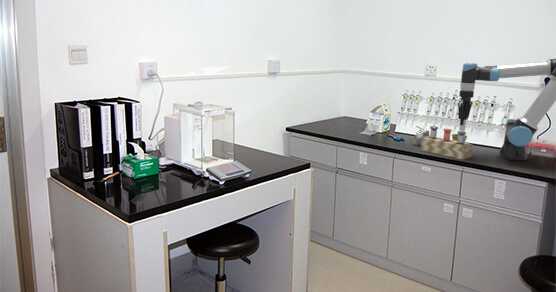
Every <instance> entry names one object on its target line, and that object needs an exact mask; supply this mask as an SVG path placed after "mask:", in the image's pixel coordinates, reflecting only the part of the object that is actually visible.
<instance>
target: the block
mask: <svg viewBox="0 0 556 292" xmlns="http://www.w3.org/2000/svg"><path fill="white" fill-rule="evenodd" d="M443 138H444V137H439V136H436V139H431V138H430V135H429V136H426V137H422V138H421V145H420V147H419V151H423V152H427V153H431V154H437V155H440V156H445V157H449V158H453V159H458V160H461V161H462V160H466V159H470V158H472V152H473V146H474V145H473V143H468V142H466V141H465V142H464V145H460V144H457V141H455V140H453V139H450V142H445V141H443Z"/></svg>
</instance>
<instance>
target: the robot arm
mask: <svg viewBox="0 0 556 292" xmlns="http://www.w3.org/2000/svg"><path fill="white" fill-rule="evenodd" d="M534 76H535V77H537V76H547V77H548V78H549V77H550V79H549V81H548V82H547V84H546V85H545V87H544V88H543V89H542V90H541V92H540V93H539V95H538V96H537V97H536V98H535V99H534V101H533V102H532V103H531V105H530V106H529V107H528V109H527V110H526V112H525V113H523V116H521V117H518V118H516V119H513V118H509V119H507V121H506V123H505V124H506V126H505V131H504V139H503V144H502V146H501V147H500V149H499V152H498V157H500V158H502V159H505V160H509V161H510V160H511V161H527V160H528V159H527V158H528V152H527V147H526V146H528V145H529V144H530V143H531V142H532V140H533V138H534V135H535V133H536V132H537V131H538V129H539V128H538V127H539V126H538V125H539V123H540V122H542V119H543V118H544V117H545V115H546V114H548V112H549V111H550V110H551V108H552V107H553V105H554V104H555V103H556V58H552V59H551V58H549V59H547V60H546V61H545V60H544V61H537V62H536V61H535V62H524V63H513V64H512V63H511V64H503V65H502V64H500V65H487V66H486V65H485V66H481V67H480V66H479V65H478V63H475V62H465V63H463V64H462V70H461V79H460V84H459V85H460V87H459V89H460V90H459V95H458V97H460V98H461V99H460V101H459V102H457V108H458V109H457V110H458V113H457V114H458V115H457V117H458V119H459V129H458V131H464V132H466V123H467V121H468V120H469V118H470V117H469V116H470V113H471V110H472V106H473V101H471V100H472V98H474V94H475V91H474V90H475V85H476V81H482V82H483V81H484V82H498V81H499V80H500V79H509V78H510V79H511V78H512V79H513V78H523V77H534Z"/></svg>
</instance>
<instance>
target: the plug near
mask: <svg viewBox="0 0 556 292" xmlns="http://www.w3.org/2000/svg"><path fill="white" fill-rule="evenodd" d="M457 134H458V140H457V144H460V145H464V137H465V135H467V132H466V131H460V130H458V131H457Z"/></svg>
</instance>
